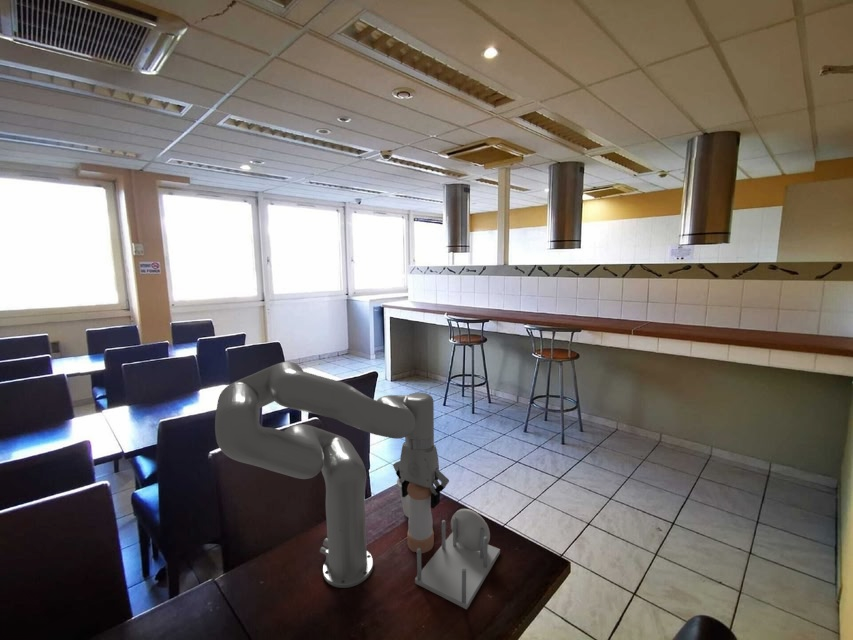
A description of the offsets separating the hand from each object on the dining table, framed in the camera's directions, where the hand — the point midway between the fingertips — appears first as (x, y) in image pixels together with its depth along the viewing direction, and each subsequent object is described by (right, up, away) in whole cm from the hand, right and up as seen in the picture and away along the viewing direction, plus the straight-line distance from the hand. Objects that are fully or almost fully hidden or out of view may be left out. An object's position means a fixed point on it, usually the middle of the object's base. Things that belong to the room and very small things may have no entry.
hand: (420, 499), depth 108 cm
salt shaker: (0, -13, +2) cm, 13 cm away
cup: (-2, -11, +15) cm, 19 cm away
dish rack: (+10, -14, -6) cm, 19 cm away
